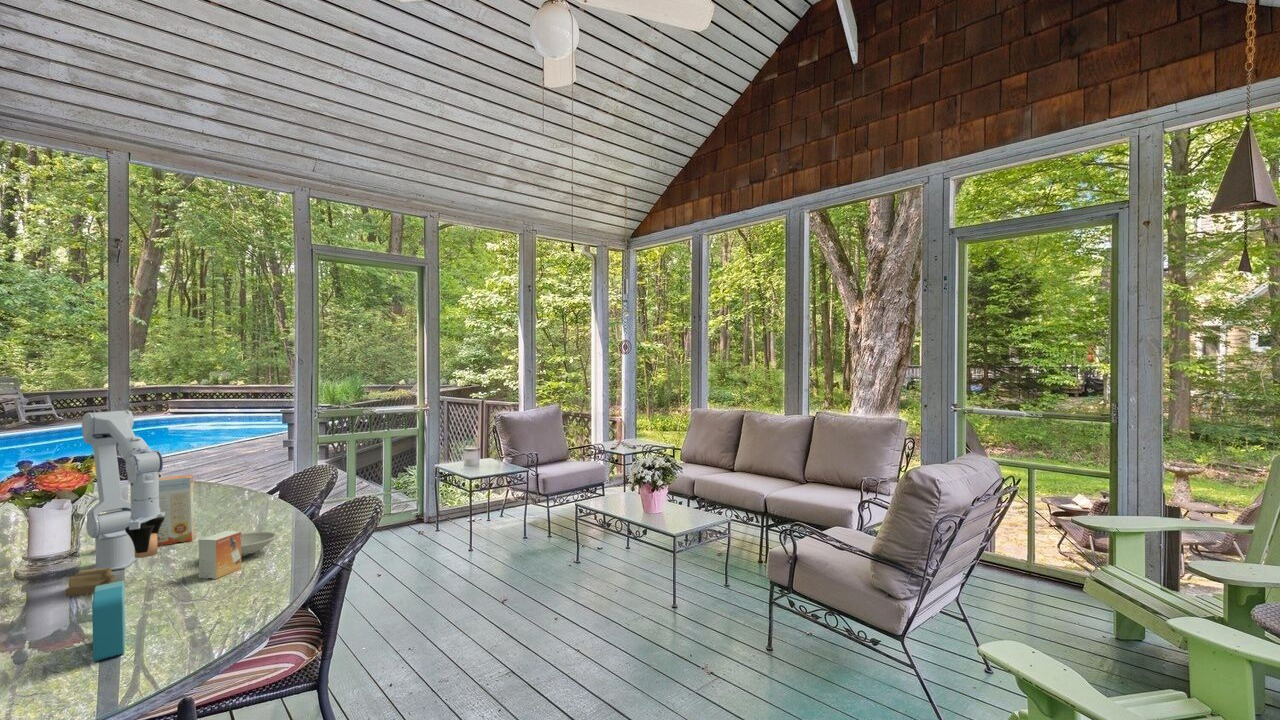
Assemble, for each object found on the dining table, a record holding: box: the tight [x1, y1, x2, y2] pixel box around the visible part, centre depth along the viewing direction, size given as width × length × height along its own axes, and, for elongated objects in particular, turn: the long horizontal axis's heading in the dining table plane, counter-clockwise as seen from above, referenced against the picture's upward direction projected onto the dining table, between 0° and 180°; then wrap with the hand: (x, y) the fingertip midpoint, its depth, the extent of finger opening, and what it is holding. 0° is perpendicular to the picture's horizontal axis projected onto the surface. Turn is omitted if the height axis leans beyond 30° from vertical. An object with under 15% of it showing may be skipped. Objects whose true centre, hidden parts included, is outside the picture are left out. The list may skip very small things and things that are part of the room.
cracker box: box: [157, 474, 196, 547], centre depth 184 cm, size 14×6×21 cm, turn 121°
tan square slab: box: [65, 574, 116, 598], centre depth 148 cm, size 7×7×2 cm
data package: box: [91, 580, 126, 662], centre depth 117 cm, size 12×4×12 cm, turn 41°
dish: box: [241, 531, 278, 558], centre depth 171 cm, size 18×14×5 cm
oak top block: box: [68, 567, 112, 588], centre depth 147 cm, size 6×6×2 cm
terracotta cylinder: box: [134, 533, 158, 559], centre depth 153 cm, size 5×5×5 cm
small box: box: [198, 530, 242, 580], centre depth 157 cm, size 8×6×10 cm
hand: (145, 549), depth 153 cm, fingers closed on terracotta cylinder, 5 cm apart
